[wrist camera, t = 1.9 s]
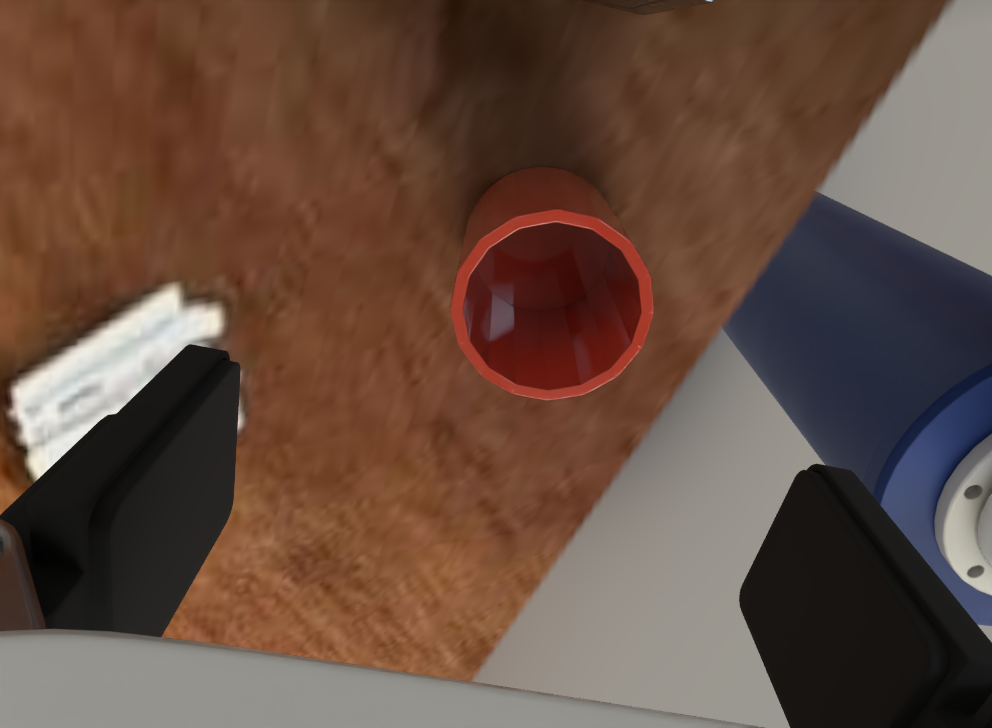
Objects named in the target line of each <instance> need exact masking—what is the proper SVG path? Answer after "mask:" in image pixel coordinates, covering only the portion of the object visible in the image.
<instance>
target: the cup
mask: <svg viewBox="0 0 992 728" xmlns="http://www.w3.org/2000/svg"><path fill="white" fill-rule="evenodd" d="M450 309H451V310H450V312H451V316H452V320H453V325H454V329H455V333H456V338H457V342H458V344H459V347H460V348H461V349H462V351H463V352H464V353H465V355H466V356H467V358H468V359H469V360H470V362H471V363H472V364H473V366H474V367H475V368H476V370H477V371H478V372H479V374H481V375H482V376H483V377H485V378H487V379H488V380H490V381H492V382H493V383H495V384H496V385H498V386H500V387H501V388H503V389H505V390H506V391H508V392H509V393H512V394H516V395H521V396H527V397H532V398H537V399H542V400H554V399H560V398H567V397H573V396H579V395H584V394H587V393H589V392H590V391H592V390H594V389H596V388H598V387H599V386H601V385H603V384H605V383H607V382H609V381H610V380H612V379H614V378H616V377H617V376H619V374H620V373H621V372H622V371H623V370H624V369H625V367H626V366H627V365H628V364H629V363H630V362H631V360H632V359H633V358H634V357H635V356H636V355H637V353H638V352H639V351H640V350H641V348H642V347H643V344H644V341H645V338H646V335H647V332H648V329H649V326H650V323H651V320H652V317H653V314H654V305H653V295H652V284H651V276H650V273H649V271H648V269H647V268H646V266H645V264H644V262H643V261H642V259H641V257H640V255H639V254H638V252H637V250H636V248H635V247H634V245H633V243H632V242H631V240H630V238H629V237H628V235H627V234H626V232H625V230H624V229H623V227H622V226H621V224H620V223H619V221H618V219H617V218H616V216H615V215H614V213H613V211H612V210H611V208H610V207H609V205H608V203H607V202H606V200H605V199H604V197H603V195H602V194H601V193H600V192H599V191H598V190H596V189H595V187H593V186H592V185H591V184H590V183H589V182H588V181H586V180H585V179H583V178H581V177H580V176H578V175H576V174H574V173H572V172H569V171H566V170H563V169H559V168H553V167H532V168H526V169H522V170H518V171H516V172H513V173H511V174H508V175H507V176H505V177H503V178H501V179H500V180H498V181H497V182H496V183H494V184H493V185H492V186H491V187H490V188H489V189H488V190H487V191H486V192H485V193H484V194H483V195H482V196H481V198H480V199H479V200H478V202H477V204H476V205H475V207H474V209H473V211H472V213H471V214H470V216H469V218H468V223H467V228H466V233H465V237H464V242H463V247H462V252H461V256H460V261H459V266H458V270H457V275H456V280H455V286H454V291H453V296H452V301H451V306H450Z"/></svg>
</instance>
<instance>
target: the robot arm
mask: <svg viewBox="0 0 992 728" xmlns="http://www.w3.org/2000/svg"><path fill="white" fill-rule="evenodd" d="M239 388H240V365H239V363H238V362H233V361H230V357H229V354H228V352H227V351H223V350H218V349H213V348H207V347H202V346H197V345H191V344H189V345H188V346H186V347H185V348H184V349H183V350H182V351H181V352H180V353H179V354H178V355H177V356H176V357H175V358H174V359H172V360H171V361H170V362H169V363H168V364H167V365H166V366H165V367H164V368H163V369H162V370H161V371H160V372H159V373H158V374H157V375H156V376H155V377H154V378H153V379H152V380H151V381H150V382H149V383H148V384H147V385H146V386H145V387H144V388H143V389H142V390H141V391H139V392H138V393H137V394H136V395H135V396H134V397H133V398H132V399H131V400H130V401H129V402H128V403H127V404H126V405H125V406H124V407H123V408H122V409H121V410H120V411H119V412H118V413H117V414H112V415H107V416H106V417H104V418H103V419H102V420H100V421H99V422H98V423H97V424H96V425H95V426H94V427H93V428H92V429H91V430H90V431H89V432H88V433H87V434H85V435H84V436H83V437H82V438H81V439H80V440H79V441H78V442H77V443H76V444H75V445H74V446H73V447H72V448H71V449H70V450H69V451H67V452H66V453H65V454H64V455H63V456H62V457H61V458H60V459H59V460H58V461H57V462H56V463H55V464H54V465H53V466H52V467H51V468H50V469H48V470H47V471H46V472H45V473H44V474H43V475H42V476H41V477H40V478H39V479H38V480H37V481H36V482H35V483H34V484H33V485H32V486H31V487H29V488H28V489H27V490H26V491H25V492H24V493H23V494H22V495H21V496H20V497H19V498H18V499H17V500H16V501H15V502H14V503H13V504H12V505H10V506H9V507H8V508H7V509H6V510H5V511H4V512H3V513H2V514H1V515H0V728H763V727H758V726H751V725H745V724H739V723H733V722H726V721H721V720H714V719H708V718H702V717H696V716H689V715H682V714H676V713H670V712H663V711H656V710H651V709H644V708H637V707H632V706H625V705H619V704H612V703H606V702H600V701H592V700H587V699H580V698H574V697H567V696H560V695H554V694H548V693H541V692H534V691H528V690H521V689H515V688H509V687H503V686H495V685H489V684H483V683H476V682H470V681H463V680H456V679H450V678H443V677H436V676H429V675H423V674H416V673H409V672H403V671H396V670H389V669H383V668H376V667H369V666H362V665H356V664H349V663H342V662H336V661H329V660H322V659H316V658H309V657H302V656H295V655H289V654H282V653H275V652H269V651H262V650H255V649H249V648H242V647H235V646H228V645H222V644H215V643H207V642H198V641H189V640H181V639H172V638H163V637H161V636H162V635H163V633H164V631H165V629H166V628H167V626H168V624H169V622H170V621H171V619H172V617H173V615H174V614H175V612H176V610H177V608H178V607H179V605H180V603H181V601H182V600H183V598H184V596H185V594H186V593H187V591H188V589H189V587H190V586H191V584H192V582H193V580H194V579H195V577H196V575H197V573H198V572H199V570H200V568H201V566H202V565H203V563H204V561H205V559H206V558H207V556H208V554H209V552H210V551H211V549H212V547H213V545H214V544H215V542H216V540H217V538H218V537H219V535H220V533H221V531H222V530H223V528H224V526H225V524H226V523H227V521H228V518H229V516H230V513H231V509H232V505H233V499H234V482H235V463H236V444H237V426H238V407H239ZM934 526H935V538H936V541H937V544H938V547H939V549H940V552H941V554H942V555H943V557H944V558H945V559H946V561H947V562H948V564H949V565H950V566H951V567H952V569H953V570H954V571H955V572H956V573H957V574H958V575H959V576H960V578H961V579H962V580H964V581H965V582H966V583H968V584H969V585H971V586H972V587H974V588H976V589H977V590H979V591H981V592H984V593H986V594H989V595H992V434H990V435H989V436H988V437H987V438H985V439H984V440H983V441H982V442H980V443H979V444H978V445H977V446H975V447H974V448H973V449H972V451H971V452H970V453H969V454H968V455H967V456H966V457H965V458H964V459H963V460H962V461H961V462H960V463H959V464H958V466H957V467H956V469H955V470H954V472H953V473H952V475H951V476H950V478H949V479H948V481H947V482H946V484H945V486H944V488H943V491H942V493H941V496H940V498H939V500H938V503H937V508H936V513H935V519H934ZM739 602H740V608H741V611H742V613H743V616H744V618H745V620H746V623H747V625H748V628H749V630H750V632H751V635H752V637H753V640H754V642H755V644H756V647H757V649H758V652H759V654H760V656H761V659H762V661H763V663H764V666H765V668H766V671H767V673H768V675H769V678H770V680H771V683H772V685H773V687H774V690H775V692H776V694H777V697H778V699H779V702H780V704H781V706H782V709H783V711H784V714H785V716H786V718H787V721H788V723H789V726H790V728H992V643H991V641H990V640H989V639H988V638H987V636H986V635H985V634H984V633H983V631H982V630H981V629H980V628H979V627H978V625H977V624H976V623H975V622H974V620H973V619H972V618H971V617H970V615H969V614H968V613H967V612H966V610H965V609H964V608H963V607H962V606H961V604H960V603H959V602H958V601H957V599H956V598H955V597H954V596H953V594H952V593H951V592H950V591H949V590H948V588H947V587H946V586H945V585H944V583H943V582H942V581H941V580H940V578H939V577H938V576H937V575H936V574H935V572H934V571H933V570H932V569H931V567H930V566H929V565H928V564H927V562H926V561H925V560H924V559H923V557H922V556H921V555H920V554H919V553H918V551H917V550H916V549H915V548H914V546H913V545H912V544H911V543H910V541H909V540H908V539H907V538H906V537H905V535H904V534H903V533H902V532H901V530H900V529H899V528H898V527H897V525H896V524H895V523H894V522H893V521H892V519H891V518H890V517H889V516H888V514H887V513H886V512H885V511H884V509H883V508H882V507H881V506H880V505H879V503H878V502H877V501H876V500H875V498H874V497H873V496H872V495H871V493H870V492H869V491H868V490H867V488H866V487H865V486H864V485H863V484H862V482H861V481H860V480H859V479H858V477H857V476H856V475H855V474H854V473H853V472H852V471H851V470H846V469H841V468H836V467H831V466H826V465H820V464H814V465H811V466H810V467H809V468H808V469H807V470H802V471H800V472H799V473H798V474H797V475H796V477H795V479H794V481H793V483H792V485H791V487H790V489H789V491H788V493H787V495H786V497H785V499H784V501H783V503H782V505H781V507H780V509H779V511H778V513H777V515H776V517H775V519H774V521H773V524H772V525H771V527H770V530H769V532H768V534H767V536H766V538H765V540H764V542H763V544H762V546H761V548H760V550H759V552H758V554H757V556H756V558H755V560H754V562H753V564H752V566H751V568H750V570H749V572H748V574H747V576H746V578H745V580H744V582H743V585H742V587H741V590H740V597H739Z"/></svg>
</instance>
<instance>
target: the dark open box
mask: <svg viewBox="0 0 992 728" xmlns="http://www.w3.org/2000/svg"><path fill="white" fill-rule="evenodd" d="M584 1H588V2H592V3H596V4H600V5H604V6H609V7H613V8H617V9H621V10H625V11H629V12H634V13H638V14H642V15H646V14H654V13H659V12H664V11H669V10H675V9H680V8H685V7H690V6H695V5H701V4H706V3H711V2H713V0H584Z"/></svg>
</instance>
